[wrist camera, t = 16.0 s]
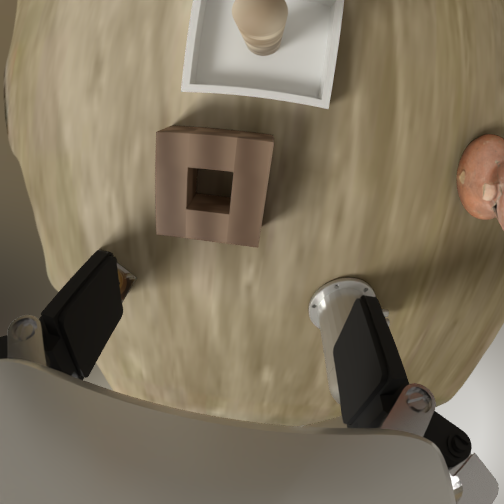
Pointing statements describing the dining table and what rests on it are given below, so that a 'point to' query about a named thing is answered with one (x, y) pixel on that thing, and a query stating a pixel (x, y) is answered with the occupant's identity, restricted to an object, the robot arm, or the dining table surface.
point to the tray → (264, 67)
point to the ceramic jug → (483, 178)
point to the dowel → (261, 24)
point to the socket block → (210, 206)
